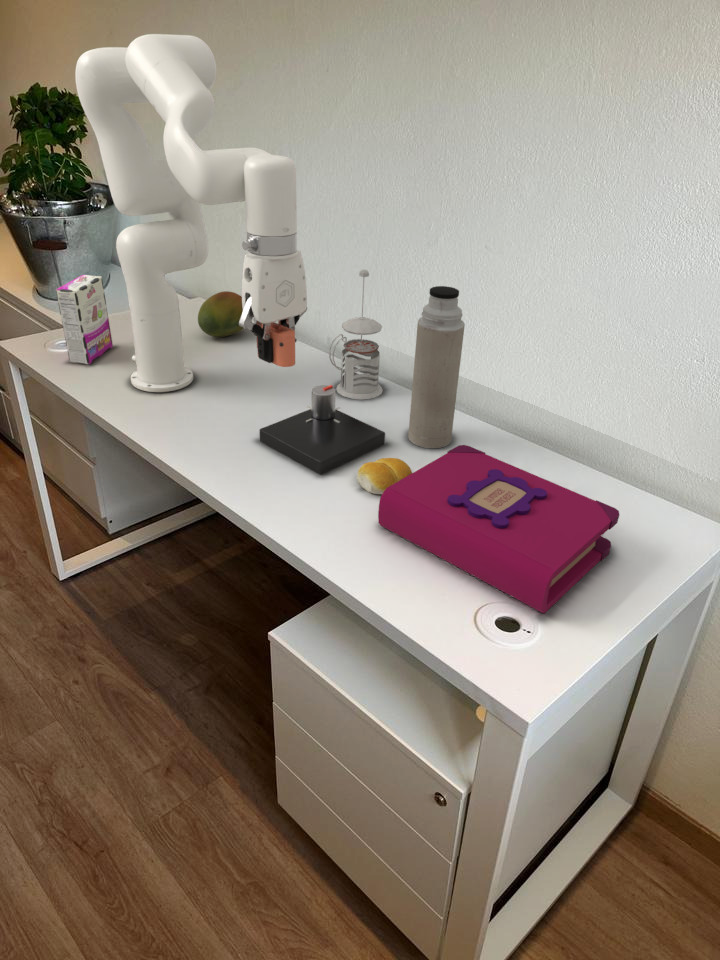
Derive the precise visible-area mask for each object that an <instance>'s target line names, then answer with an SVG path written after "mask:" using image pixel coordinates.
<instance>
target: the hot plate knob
mask: <svg viewBox="0 0 720 960" xmlns="http://www.w3.org/2000/svg"><path fill="white" fill-rule="evenodd" d="M336 392H337V390H336V388H334V386H333V385H332V384H330V385H327V384H326V385H324V384H322V385H316V386H314V387H312V388H311V408H312V416H313V417H314V418H316V419H319V420H328V419H332V418H333V417H334V416H335V409H336V400H337V399H336V397H337V396H336V395H337V393H336Z"/></svg>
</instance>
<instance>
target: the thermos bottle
mask: <svg viewBox="0 0 720 960" xmlns="http://www.w3.org/2000/svg"><path fill="white" fill-rule="evenodd" d="M429 295H430V296H429V297H428V303H427V304H426V305H424V306H423V308H422V312H421V317H419V318H418V319H417V324H416V325H417V327H416V339H415V349H414V361H413V374H412V385H411V399H410V408H409V409H410V410H409V422H408V434H407V438H408V440H409V442H411V443H412V444H413V445H415V446H417V447H421V448H424V449H440V448H444V447H447V446H449V444H451V442H452V436H453V428H454V419H455V411H456V401H457V395H458V394H457V393H458V385H459V376H460V368H461V367H460V366H461V360H462V350H463V344H464V343H463V342H464V335H465V325H466V324H465V321H463V320H462V317H464V315H463V310H462V308H461V307H460V306H459V298H458V297H459V296H460V290H459V289H457V288H455V287H452V286H446V285H438V286H437V285H436V286H432V287H431V288H429Z"/></svg>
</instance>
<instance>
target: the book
mask: <svg viewBox="0 0 720 960" xmlns="http://www.w3.org/2000/svg"><path fill="white" fill-rule="evenodd" d="M446 452H447V453H445V454H444V455H441V456H440V457H438V458H436V459H434V460H433V461H431V462H429V463H427V464H426V465H424V466H422V467H421V468H419V469H417V470H415V471H414V472H412V474H410V475H408V476H407V477H405V478H403V479H401V480H400V481H398V482H396V483H394V484H393V485H391V486H389V487H387V488H386V490H385V491H384V492H383V494H381V496H380V498H379V503H378V510H377V511H378V512H377V521H378V524H379V526H381V527H382V528H384V529H386V530H388V531H390V532H392V533H394V534H395V535H397V536H399V537H400V538H403V539H405V540H406V541H408V542H410V543H412V544H414V545H416V546H417V547H420V548H421V549H423V550H425V551H427V552H428V553H430V554H433V555H434V556H435V557H438V558H440V559H442V560H443V561H446V562H447V563H449V564H451V565H453V566H454V567H457V568H458V569H460V570H462V571H463V572H465V573H467V574H470V575H471V576H473V577H475V578H477V579H478V580H480V581H482V582H484V583H486V584H488V585H490V586H491V587H493V588H496V589H497V590H498V591H501V592H503V593H505V594H506V595H509V596H511V598H514V599H516V600H518V601H519V602H521V603H523V604H525V605H527V606H529V607H530V608H532V609H534V610H536V611H538V612H540V613H541V614H546V613H547V612H548V611H549V610H550V609H551V608H552V607H553V606H554V605H555V604H556V603H558V601H559V600H560V599H561V598H563V596H565V595H566V594H567V593H568V592H569V591H570V590H571V589H572V588H573V587H574V586H575V585H576V584H577V583H578V582H579V581H580V580H582V579H583V578H584V577H585V576H586V575H587V574H588V573H589V572H590V571H591V570H592V569H593V568H594V567H595V566H596V565H597V564H598V563H600V562H602V561H603V560H605V558H607V556H609V554H610V551H611V548H612V542H611V541H610V540H609V539H608V538H606V537H604V536H603V535H604V534H605V533H607V531H608V530H611V529H612V528H614V527H615V526H616V525H617V524H618V523H619V518H620V511H619V510H618V509H617V508H616V507H613V506H611V505H609V504H607V503H604V502H602V501H599V500H597V499H596V500H595V499H593V498H590V497H587V496H585V495H584V494H583V495H582V494H580V493H578V492H576V491H574V490H572V489H569V488H566V487H564V486H561V485H559V484H557V483H555V482H552V481H550V480H548V479H545V478H543V477H540V476H538V475H536V474H534V473H532V472H530V471H526V470H524V469H522V468H519V467H517V466H514V465H513V464H510V463H507V462H505V461H503V460H501V459H498V458H496V457H494V456H491V455H489V454H487V453H486V452H485V451H482V450H480V449H477V448H475V447H473V446H470V445H467V444H459V445H457V446H455V447H453V448H451V449H450V450H448V451H446Z"/></svg>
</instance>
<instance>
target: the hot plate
mask: <svg viewBox="0 0 720 960" xmlns="http://www.w3.org/2000/svg"><path fill="white" fill-rule="evenodd" d="M306 408H307V410H303V411H302V412H300V413H297V414H295V415H292V416H290V417H286V418H284V419H282V420H280V421H277V422H275V423H272V424H269V425H266V426H264V427H261V428H259V430H258V431H259V442H260V443H261V444H264V445H265V446H267V447H269V448H271V449H273V450H275V451H276V452H277V453H280V454H283V455H284V456H285V457H287V458H290V459H291V460H293V461H294V462H296V463H298V464H301V466H304V467H305V468H307V469H309V470H311V471H313V472H315V473H317V474H318V475H320V476H322V475H324V474H326V473H328V472H330V471H332V470H334V469H336V468H339V467H341V466H343V465H344V464H347V463H348V462H351V461H353V460H355V459H357V458H359V457H361V456H363V455H366V454H368V453H370V452H371V451H374V450H376V449H378V448H380V447H382V446H385V443H386V432H385V431H383V430H380V429H379V428H377V427H374V426H373V425H370V424H368V423H367V422H364V421H362V420H359V419H358V418H355V417H354V416H351V415H349V414H347V413H346V412H343V411H341V410H340V409H341V407H335V416H334V417H333V418H332V419H328V420H319V419H316V418H314V417H313V416H312V406H307V407H306Z"/></svg>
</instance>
